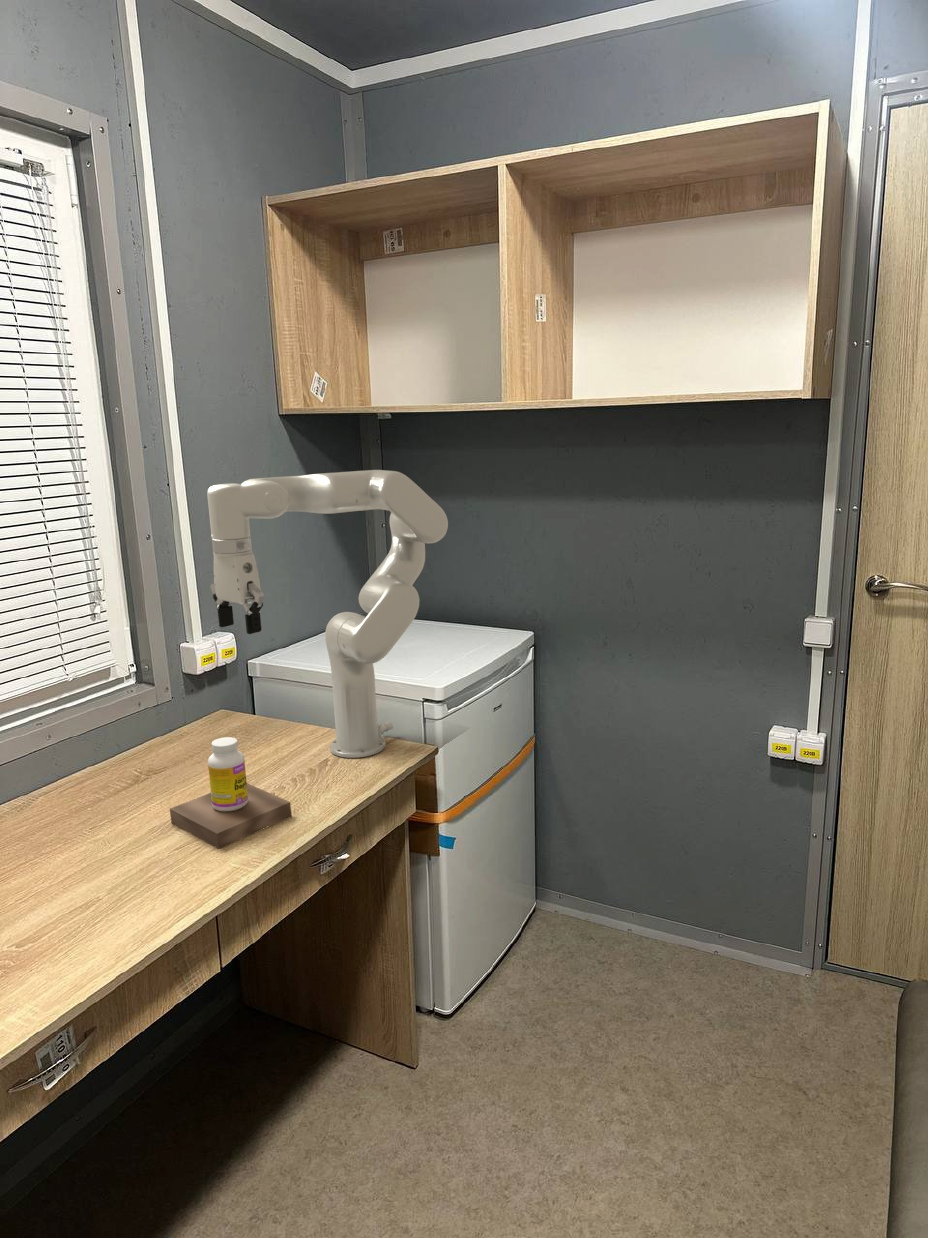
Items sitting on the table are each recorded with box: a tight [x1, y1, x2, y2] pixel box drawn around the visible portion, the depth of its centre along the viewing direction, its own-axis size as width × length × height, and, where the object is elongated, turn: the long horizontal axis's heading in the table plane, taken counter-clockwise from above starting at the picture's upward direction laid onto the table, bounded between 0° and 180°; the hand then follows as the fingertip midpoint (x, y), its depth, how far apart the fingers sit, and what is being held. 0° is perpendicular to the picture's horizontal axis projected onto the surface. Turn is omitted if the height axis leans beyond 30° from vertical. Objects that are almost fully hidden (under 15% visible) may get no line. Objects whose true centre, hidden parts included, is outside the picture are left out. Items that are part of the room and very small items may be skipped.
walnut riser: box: [169, 782, 292, 850], centre depth 166 cm, size 16×16×3 cm
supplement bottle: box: [207, 736, 248, 812], centre depth 164 cm, size 7×7×13 cm
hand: (240, 629), depth 178 cm, fingers open, 9 cm apart
